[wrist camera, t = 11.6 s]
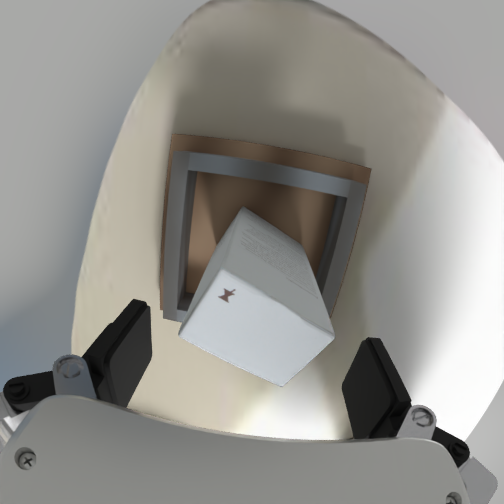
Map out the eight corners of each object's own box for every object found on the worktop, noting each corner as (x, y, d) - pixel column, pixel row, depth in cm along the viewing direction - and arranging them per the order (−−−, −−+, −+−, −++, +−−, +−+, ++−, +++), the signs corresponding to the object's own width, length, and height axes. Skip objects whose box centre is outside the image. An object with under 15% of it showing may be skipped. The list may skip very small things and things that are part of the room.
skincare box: (214, 247, 23) (171, 335, 12) (243, 204, 22) (219, 263, 10) (275, 285, 24) (282, 391, 13) (305, 246, 23) (340, 335, 11)
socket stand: (365, 167, 21) (386, 171, 17) (321, 327, 27) (329, 355, 23) (177, 134, 21) (158, 131, 17) (164, 301, 27) (149, 327, 22)
